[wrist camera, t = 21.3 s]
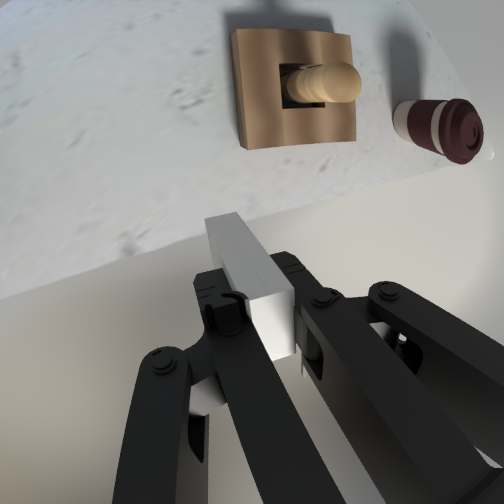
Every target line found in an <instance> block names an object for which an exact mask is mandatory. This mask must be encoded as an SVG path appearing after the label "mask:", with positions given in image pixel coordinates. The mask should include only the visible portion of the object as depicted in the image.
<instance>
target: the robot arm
mask: <svg viewBox="0 0 504 504" xmlns="http://www.w3.org/2000/svg"><path fill="white" fill-rule="evenodd" d="M205 224H206V229H207V234H208V239H209V245H210V249H211V255H212V260H213V265H214V270H211V271H207V272H203V273H199V274H197V275H196V277H195V279H194V282H193V284H194V288H195V292H196V296H197V300H198V303H199V307H200V312H201V316H202V320H203V323H204V333H203V336H202V337H201V338H200V340H199V341H198V342H197V343H196V344H194V345H192V346H191V347H189V348H187V349H185V350H184V351H183V350H181V349H179V348H176V347H169V346H166V347H161V348H157V349H155V350H153V351H151V352H150V353H148V354H147V355H146V356H145V357H144V359H143V360H142V362H141V364H140V368H139V372H138V376H137V380H136V384H135V388H134V392H133V396H132V401H131V406H130V409H129V414H128V418H127V423H126V428H125V433H124V438H123V443H122V447H121V453H120V458H119V463H118V469H117V475H116V481H115V487H114V493H113V500H112V504H208V443H209V441H208V439H209V413H210V412H212V411H214V410H215V409H217V408H219V407H220V406H222V405H224V404H225V403H228V407H229V410H230V413H231V416H232V418H233V422H234V425H235V427H236V430H237V433H238V436H239V439H240V442H241V445H242V448H243V451H244V453H245V456H246V459H247V462H248V464H249V467H250V470H251V472H252V475H253V478H254V480H255V483H256V486H257V488H258V491H259V493H260V496H261V498H262V501H263V503H264V504H346V502H345V500H344V498H343V497H342V495H341V493H340V491H339V489H338V487H337V486H336V484H335V482H334V480H333V478H332V476H331V475H330V473H329V471H328V469H327V467H326V465H325V464H324V462H323V460H322V458H321V456H320V454H319V452H318V450H317V449H316V447H315V445H314V443H313V441H312V439H311V438H310V436H309V433H308V431H307V430H306V428H305V426H304V424H303V422H302V420H301V418H300V416H299V414H298V412H297V410H296V408H295V406H294V405H293V402H292V401H291V399H290V397H289V395H288V393H287V391H286V389H285V387H284V385H283V383H282V381H281V379H280V377H279V375H278V373H277V371H276V369H275V367H274V365H273V363H272V361H274V360H277V359H280V358H283V357H286V356H289V355H292V354H295V353H296V343H297V344H298V346H299V348H300V349H301V351H302V368H301V371H302V377H303V378H305V377H306V370H307V372H308V374H309V375H310V377H311V379H312V380H313V382H314V384H315V385H316V387H317V389H318V390H319V392H320V394H321V396H322V397H323V399H324V401H325V402H326V404H327V406H328V407H329V409H330V411H331V413H332V414H333V416H334V417H335V419H336V421H337V422H338V424H339V426H340V428H341V429H342V431H343V433H344V434H345V436H346V438H347V439H348V441H349V442H350V444H351V446H352V447H353V449H354V451H355V453H356V454H357V456H358V458H359V459H360V461H361V463H362V464H363V466H364V467H365V469H366V471H367V472H368V474H369V476H370V477H371V479H372V481H373V482H374V484H375V486H376V487H377V489H378V491H379V492H380V494H381V495H382V497H383V499H384V500H385V502H386V504H504V346H503V345H501V344H500V343H498V342H496V341H495V340H493V339H491V338H490V337H488V336H487V335H485V334H483V333H482V332H480V331H478V330H477V329H475V328H473V327H472V326H470V325H469V324H467V323H466V322H464V321H462V320H461V319H459V318H457V317H455V316H454V315H452V314H450V313H449V312H447V311H445V310H444V309H442V308H440V307H439V306H437V305H435V304H433V303H432V302H430V301H428V300H426V299H425V298H423V297H421V296H420V295H418V294H416V293H414V292H413V291H411V290H409V289H407V288H406V287H404V286H402V285H400V284H398V283H395V282H390V281H384V282H378V283H375V284H373V285H372V286H371V287H370V289H369V293H368V296H365V297H355V298H345V297H344V296H343V294H341V293H340V292H338V291H337V290H335V289H332V288H326V287H323V286H322V285H321V284H320V283H319V282H318V281H317V280H316V279H315V277H314V276H313V275H312V274H311V273H310V272H309V271H308V270H306V267H305V266H304V265H303V264H301V262H300V261H299V260H298V258H296V256H295V255H292V254H290V253H288V252H286V251H283V252H279V253H275V254H272V255H269V254H268V253H267V252H266V250H265V249H264V248H263V246H262V245H261V244H260V242H259V241H258V240H257V238H256V237H255V236H254V234H253V233H252V232H251V231H250V229H249V228H248V226H246V224H245V223H244V221H243V220H242V219H241V217H240V216H239V215H238V213H237V212H233V213H229V214H224V215H220V216H215V217H211V218H206V219H205ZM400 333H401V334H402V335H404V336H405V337H406V338H407V339H406V341H402V340H400V339H399V335H400ZM473 445H474V446H475V447H476V448H478V449H479V450H480V451H482V452H483V453H484V454H486V455H487V456H488V457H490V458H491V459H492V460H494V461H495V462H496V463H498V464H499V465H500V466H502V467H503V468H494V467H491V466H490V465H489V464H487V463H486V461H485V460H484V459H483V457H482V456H481V455H480V453H479V452H478V451H477V450H476V448H475V447H474V446H473Z"/></svg>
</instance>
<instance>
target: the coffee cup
mask: <svg viewBox="0 0 504 504" xmlns="http://www.w3.org/2000/svg"><path fill="white" fill-rule="evenodd" d="M393 122H394V128H395V130H396V132H397V134H398V135H399V136H400V137H401V138H402V139H404V140H406V141H409V142H412V143H415V144H416V145H418V146H420V147H422V148H425V149H428V150H430V151H433V152H435V153H438V154H440V155H443V156H446V157H447V158H448V159H449V160H450V161H452V162H454V163H457V164H466V163H468V162H470V161H471V160H472V159H473V158H474V156H475V155H476V154H477V153H478V152H479V151H480V149H481V146H482V143H483V135H484V132H483V125H482V121H481V119H480V117H479V116H478V113H477V111H476V109H475V108H474V106H473V105H472V104H471V103H470V102H469V101H467V100H464V99H452V100H450V101H447V100H418V101H404V102H402V103H400V104H399V105H398V106H397V108H396V110H395V112H394V117H393Z"/></svg>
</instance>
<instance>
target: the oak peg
mask: <svg viewBox="0 0 504 504" xmlns="http://www.w3.org/2000/svg"><path fill="white" fill-rule="evenodd" d="M280 86H281V99H282V100H284V101H286V102H299V103H310V102H351V101H353V100H355V99H356V98H357V97H358V95H359V93H360V91H361V78H360V75H359V73H358V72H357V70H356V69H355V68H354V67H353V66H352V65H350V64H348V63H346V62H335V63H330V64H325V65H321V66H316V67H312V68H307V69H298V70H295V71H293V72H291V73H287V74H284V75H282V76H281V77H280Z"/></svg>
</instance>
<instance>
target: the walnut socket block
mask: <svg viewBox="0 0 504 504" xmlns="http://www.w3.org/2000/svg"><path fill="white" fill-rule="evenodd" d="M230 41H231V51H232V61H233V72H234V82H235V93H236V103H237V114H238V124H239V135H240V145H241V147H243V148H245V149H247V150H252V149H261V148H270V147H279V146H290V145H301V144H314V143H329V142H348V141H356V109H355V100H353V101H351V102H312V107H302V108H282V99H281V86H280V74H279V67H309V68H312V67H316V66H321V65H325V64H330V63H335V62H346V63H348V64H350V65H352V66H353V60H352V49H351V39H350V35H345V34H338V33H330V32H320V31H309V30H294V29H236V30H235V31H234V32H233V33H232V34H231V36H230Z"/></svg>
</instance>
